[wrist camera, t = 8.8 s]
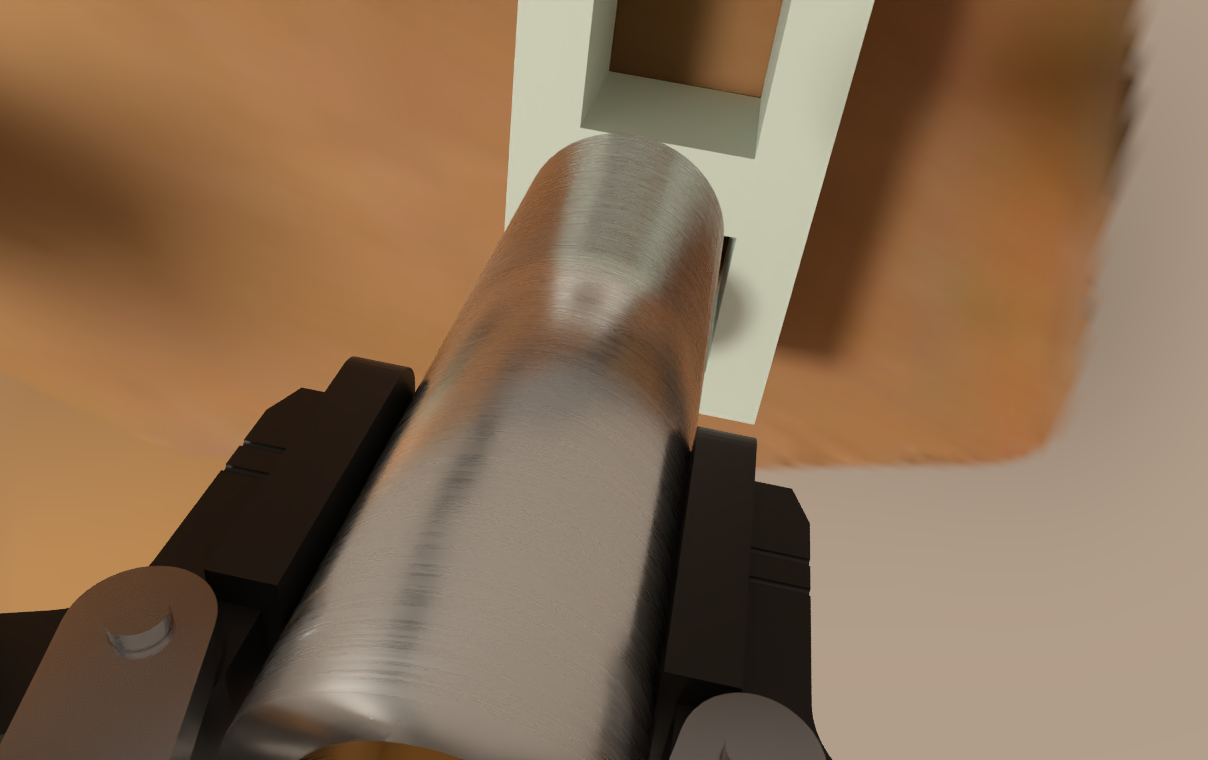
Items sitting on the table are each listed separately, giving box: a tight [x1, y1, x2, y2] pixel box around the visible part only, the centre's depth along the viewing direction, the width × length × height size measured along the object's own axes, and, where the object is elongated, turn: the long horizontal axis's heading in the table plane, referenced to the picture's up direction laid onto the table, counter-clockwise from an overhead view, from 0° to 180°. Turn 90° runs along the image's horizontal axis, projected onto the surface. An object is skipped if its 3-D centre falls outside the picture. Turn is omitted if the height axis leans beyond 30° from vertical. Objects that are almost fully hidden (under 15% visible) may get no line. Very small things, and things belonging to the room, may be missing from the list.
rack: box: [504, 0, 875, 424], centre depth 28 cm, size 16×9×8 cm, turn 173°
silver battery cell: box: [218, 133, 724, 760], centre depth 12 cm, size 4×4×12 cm
